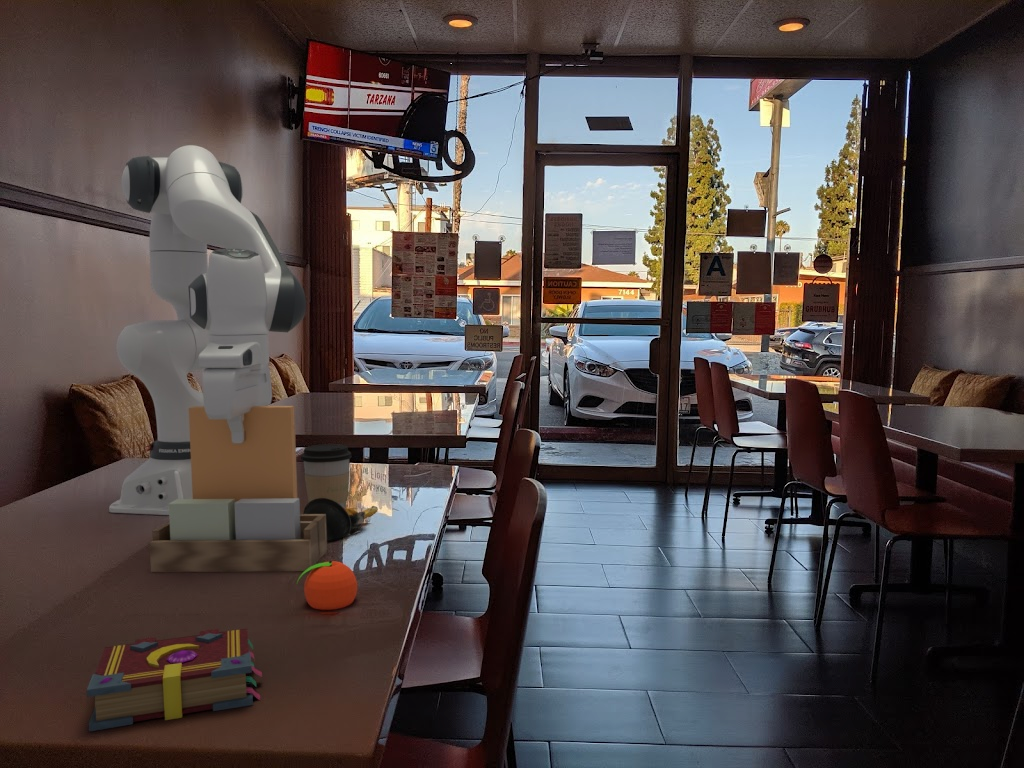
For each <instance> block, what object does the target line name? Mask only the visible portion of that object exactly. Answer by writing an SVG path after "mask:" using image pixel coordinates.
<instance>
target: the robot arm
mask: <svg viewBox="0 0 1024 768" xmlns="http://www.w3.org/2000/svg"><path fill="white" fill-rule="evenodd" d="M120 183H121V190H122V194H123V195H124V197H125V200H126V203H127V204H128V205H129V206H130V207H131V209H132V210H135V211H138V212H143V213H147V214H150V213H151V212H152V213H151V219H150V227H149V242H148V243H149V268H150V269H149V270H150V271H149V272H150V273H149V275H150V278H149V279H150V286H151V289H152V290H153V292H154V294H155V295H157V297H159V298H160V299H162V300H164V301H166V302H168V303H170V305H171V306H172V307H173V308H174V310H175V313H176V316H177V319H174V320H172V319H171V320H169V319H168V320H166V319H165V320H146V321H141V322H137V323H133V324H129V325H126V326H125V327H124V328H123V329H122V330H121V332H120V334H119V335H118V337H117V341H116V346H115V347H116V355H117V358H118V360H119V362H120V363H121V366H123V368H124V369H126V371H128V372H129V373H131V374H132V375H134V376H136V378H138V379H139V380H140V381H141V383H143V385H144V386H145V388H146V389H147V391H148V393H149V394H150V396H151V399H152V402H153V406H154V411H155V420H156V421H155V422H156V431H157V432H156V434H157V439H156V440H154V441H153V442H151V443H150V444H148V445H146V446H145V448H146V449H145V451H146V452H149V458H148V459H147V460H146V461H144V462H143V463H142V464H141V465H140V466H138V467H137V468H136V469H134V471H133V472H131V473H130V474H128V475H127V476H126V477H125V478H124V480H123V483H122V486H121V491H120V498H119V499H117V500H115V501H114V502H112V503H111V504H110V505H109V509H108V511H109V513H116V514H135V515H136V514H137V515H138V514H139V515H140V514H141V515H159V516H169V503H171V502H173V501H175V500H177V499H193V494H192V472H191V450H190V428H189V408H190V407H194V406H204V408H205V412H206V414H207V416H208V418H209V419H214V420H223V419H227V423H228V425H229V428H230V431H231V437H232V442H233V443H242V442H244V441H246V431H244V427H243V421H244V414H245V413H248V412H250V411H251V407H254V406H271V403H272V400H273V390H272V378H271V370H270V349H269V348H270V344H269V342H270V340H269V332H273V333H274V332H276V333H289V332H290V331H292V330H293V329H294V328H296V327H297V326H298V325H299V324H300V323H301V321H302V320H304V318H305V315H306V311H307V301H306V300H307V299H306V294H305V291H304V288H303V285H302V284H301V282H300V281H299V280H298V278H297V277H296V275H295V274H293V273H292V271H291V270H290V268H289V267H288V266H287V263H286V261H285V260H284V258H283V256H282V255H281V253H280V251H279V249H278V247H277V245H276V244H275V241H274V240H273V238H272V236H271V235H270V233H269V231H268V230H267V228H266V226H265V224H264V222H263V221H262V220H261V218H260V217H259V215H257V214H255V213H254V212H252V211H251V210H249V209H248V208H247V207H245V206H244V205H243V204H242V200H243V198H244V197H243V196H244V185H243V181H242V178H241V174H240V172H239V171H238V170H237V168H236V167H235V166H233V165H231V164H228V163H226V162H222V161H219V160H218V159H217V158H216V156H215V155H214V154H213V153H212V152H211V151H210V150H209V149H206V148H204V147H202V146H198V145H195V144H194V145H193V144H189V145H183V146H181V147H178V148H176V149H175V150H173V151H172V152H171V153H170V155H169V156H168V157H150V156H149V155H143V156H137V157H133V158H131V159H130V160H129V161H127V162H126V164H125V167H124V169H123V172H122V175H121V182H120ZM208 245H213V246H217V247H220V248H218V249H217V248H216V249H215V250H213V251H211V252H210V253H209V257H208ZM195 372H197V373H198V372H202V375H201V385H202V391H200V390H196V389H195V388H193V387H192V386H191V384H190V381H189V380H188V375H187V374H188V373H195Z"/></svg>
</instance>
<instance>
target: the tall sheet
mask: <svg viewBox="0 0 1024 768" xmlns="http://www.w3.org/2000/svg"><path fill="white" fill-rule="evenodd" d="M295 418H296V416H295V405H267V406H254V407H251V411H250V412H248V413H245V414H244V421H243V427H244V431H246V441H244V442H242V443H233V442H232V437H231V431H230V428H229V425H228V423H227V419H223V420H214V419H209V418H208V416H207V414H206V412H205V408H204V406H194V407H190V408H189V428H190V450H191V472H192V494H193V499H235V503H236V502H237V501H239V500H240V499H269V498H298V482H297V481H298V480H297V477H298V476H297V452H296V451H297V448H296V422H295V421H296V420H295Z"/></svg>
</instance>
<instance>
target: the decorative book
mask: <svg viewBox="0 0 1024 768" xmlns="http://www.w3.org/2000/svg"><path fill="white" fill-rule="evenodd" d="M249 646H250V648H251V649H252V650H254V645H253V643H252V641H250V639H249V638H248V628H241V629H240V628H239V629H234V630H227V631H226V630H225V631H220V628H215V629H207V630H200V631H199V634H196V635H188V636H187V635H186V636H182V637H172V638H167V639H160V640H159V639H158V640H157V637H156V636H155V637H146V638H145V637H144V638H140V639H135V641H134V643H129V644H128V643H127V644H121V645H119V644H118V645H111V646H104V649H103V652H102V655H101V658H100V660H99V663H98V665H97V668H96V670H95V673H92V675H91V679H90V680H89V683H88V685H87V688H86V698H90V697H94V709H93V711H92V714H91V716H90V719H89V722H88V732H89V733H90V732H95V731H101V730H106V729H112V728H118V727H124V726H130V725H131V726H132V725H133V724H134V722H141V721H147V720H152V719H153V720H154V719H159V718H164V721H168V720H174V719H180V718H183V715H185V714H192V713H197V712H203V711H209V710H212V712H215V711H222V710H223V711H225V710H230V709H235V708H243V707H249V706H253V705H254V701H253V700H254V698H253V697H255V698H256V699H257V700H259V701H261V694H260V693H258V692H257V691H256V690H255V689H253V685H254V686H255V687H257V681H256V680H255V679H254V678H253V677H252V676H250V674H253V673H254V674H256V675H258V676H259V677H261V678H262V677H263V673H262V671H261V670H259V669H257V668H256V667H255V663H256V662H255V654H254V652H252V651H250V650H249ZM252 658H253V660H254V662H252ZM252 671H253V673H252Z"/></svg>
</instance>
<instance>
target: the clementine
mask: <svg viewBox="0 0 1024 768" xmlns="http://www.w3.org/2000/svg"><path fill="white" fill-rule="evenodd" d="M307 572H309V574H308V575H307V577H306V579H305V581H304V588H303V589H304V590H303V591H304V597H305V600H306V602H307V603H308V605H309V606H310V608H312V609H316V610H322V612H319V613H318V614H322V615H327V616H328V615H329V616H330V615H331V616H332V615H337V614H340V613H341V612H338V611H337V612H333V611H332V610H338V609H342V608H345V607H348V606H350V605H351V604H353V603H354V601H355V599H356V596H357V593H358V582H357V577H356V575H355V574H354V571H353V570H352V569H351V568H350V567H349V566H348V565H346V564H345V563H343V562H340V561H335V560H329V561H324V562H319V563H316V564H315V565H313V566H311V567H309V568H308V569H307V570H305V571H302V573H301V574H300V575H299V577H298V579H297V582H296V586H297V585H298V582H300V581H299V580H300V579H301V578H302V577H303V576H304V575H305V574H306V573H307ZM323 611H324V612H323ZM325 611H326V612H325ZM327 611H331V612H327Z"/></svg>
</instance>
